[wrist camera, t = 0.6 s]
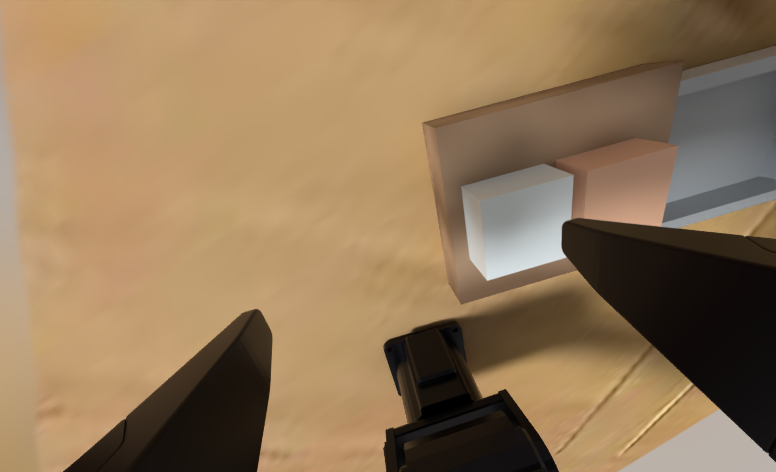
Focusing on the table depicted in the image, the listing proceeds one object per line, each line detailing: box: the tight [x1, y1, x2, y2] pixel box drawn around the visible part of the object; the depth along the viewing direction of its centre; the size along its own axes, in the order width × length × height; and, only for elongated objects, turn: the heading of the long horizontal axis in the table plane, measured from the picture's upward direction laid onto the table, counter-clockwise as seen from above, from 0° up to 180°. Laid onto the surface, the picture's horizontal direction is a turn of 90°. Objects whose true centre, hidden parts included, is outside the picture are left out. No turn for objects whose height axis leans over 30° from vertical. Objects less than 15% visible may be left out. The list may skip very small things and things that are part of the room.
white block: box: [461, 164, 574, 281], centre depth 18 cm, size 5×5×2 cm
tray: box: [661, 46, 776, 228], centre depth 21 cm, size 10×12×2 cm
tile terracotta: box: [556, 138, 678, 227], centre depth 18 cm, size 5×5×2 cm
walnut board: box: [422, 61, 685, 304], centre depth 20 cm, size 12×14×2 cm
